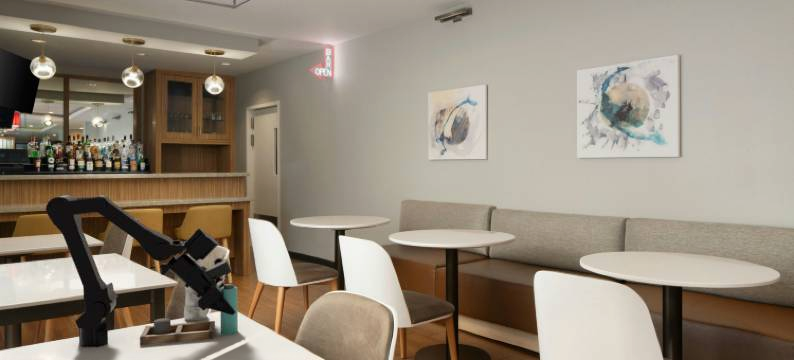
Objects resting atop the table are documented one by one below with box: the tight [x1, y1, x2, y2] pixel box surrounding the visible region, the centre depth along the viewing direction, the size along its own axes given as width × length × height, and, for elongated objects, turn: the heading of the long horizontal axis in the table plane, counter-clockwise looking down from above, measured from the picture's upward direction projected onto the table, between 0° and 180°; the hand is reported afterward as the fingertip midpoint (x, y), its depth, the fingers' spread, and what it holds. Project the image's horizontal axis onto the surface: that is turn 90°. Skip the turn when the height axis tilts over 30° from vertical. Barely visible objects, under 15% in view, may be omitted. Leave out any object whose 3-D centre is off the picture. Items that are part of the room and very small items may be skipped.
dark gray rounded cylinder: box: [153, 317, 171, 335], centre depth 146 cm, size 4×4×4 cm
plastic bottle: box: [183, 253, 208, 322], centre depth 164 cm, size 6×7×20 cm
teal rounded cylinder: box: [219, 283, 239, 336], centre depth 151 cm, size 4×4×14 cm
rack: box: [139, 320, 216, 346], centre depth 148 cm, size 18×9×3 cm, turn 106°
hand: (234, 311), depth 151 cm, fingers closed on teal rounded cylinder, 4 cm apart
